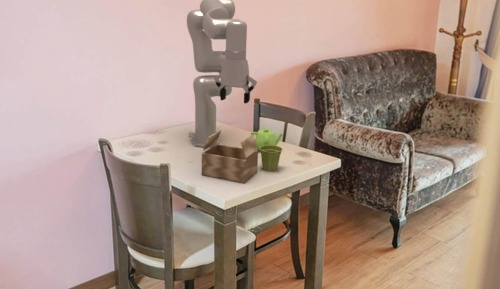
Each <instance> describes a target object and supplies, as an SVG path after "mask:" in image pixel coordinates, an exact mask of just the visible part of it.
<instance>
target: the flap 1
mask: <svg viewBox="0 0 500 289" xmlns="http://www.w3.org/2000/svg"><path fill="white" fill-rule="evenodd" d="M221 133H222V130H221V129H220V130H218V131H216V133H214V134H213V135H211V136H209V137H208V139H207V141H206V143H205V146H204V147H202V148H203V149H202V150H203V152H205V151H206V150H208V149H210V148H211V146H212V145H214V144H216V143H217V140H219V137H220V136H221Z"/></svg>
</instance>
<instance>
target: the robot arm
mask: <svg viewBox="0 0 500 289" xmlns="http://www.w3.org/2000/svg"><path fill="white" fill-rule="evenodd" d="M235 14H236V6H235V3H234V1H233V0H202V1H200V4H199V9H194V10H190V11H189V12H188V13H187V15H186V27H187V31H188V33H189V35H190V39H191V43H192V49H193V60H194V68H195V70H196V71H197V72H199V73H202V74H203V73H205V74H206V73H209V75H207V74H206V75H199V76H196V77H195V79H194V80H193V82H192V86H193V88H192V89H193V93H194V105H195V106H194V109H195V110H194V115H195V116H194V120H195V123H194V129H195V130H194V132H192V131H189V132H188V134H187V137H188V138H191V139H192V140H191V144H192V145H193V146H196V147H199V148H204V146H205V143H206V141H207V139H208V137H209V136H211V135H213V134H214V133H216V132H217V106H216V103H215V102H214V101H213V99H212V98H215V97H219V98H220V101H224V100H226V99H227V96H229V95H231V93H232V92H233V88H240V89H241V88H242V89H243V91H244V93H243V104H245V105H246V104H248V103H249V102H250V100H251V92H252V91H253V90H254V89H255V88H256V86H257V84H258V81H257V80H255V79H254V78H253V77H251V76H250V67H249V61H248V59H247V38H248V34H247V33H248V24H247V23H246V21H244V20H243V21H242V20H241V19H238V18H234V16H235ZM212 40H216V41H217V40H225V50H224V51H223V50H213V45H212V44H213V43H212ZM210 73H218V74H215V75H214V74H210ZM249 84H250V86H249ZM216 144H219V145H220V141H219V139H218V140H217V143H216ZM216 144H214V145H216ZM214 145H212V146H211V147H213V146H214ZM211 147H210V148H211Z"/></svg>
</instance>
